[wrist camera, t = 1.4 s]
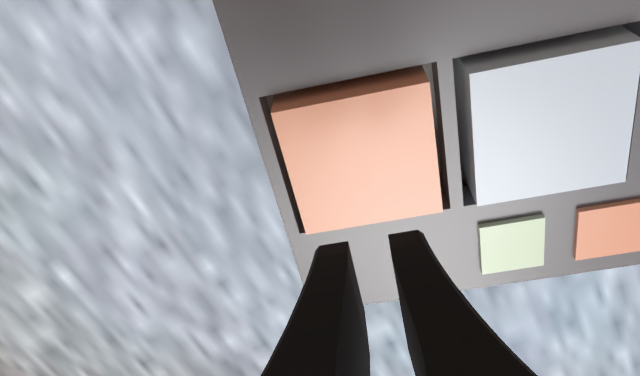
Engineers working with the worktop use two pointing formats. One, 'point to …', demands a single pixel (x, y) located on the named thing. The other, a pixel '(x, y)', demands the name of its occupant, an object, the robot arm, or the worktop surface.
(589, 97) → the blue key
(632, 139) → the keypad
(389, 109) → the terracotta key
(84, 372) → the worktop surface
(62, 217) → the worktop surface
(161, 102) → the worktop surface
